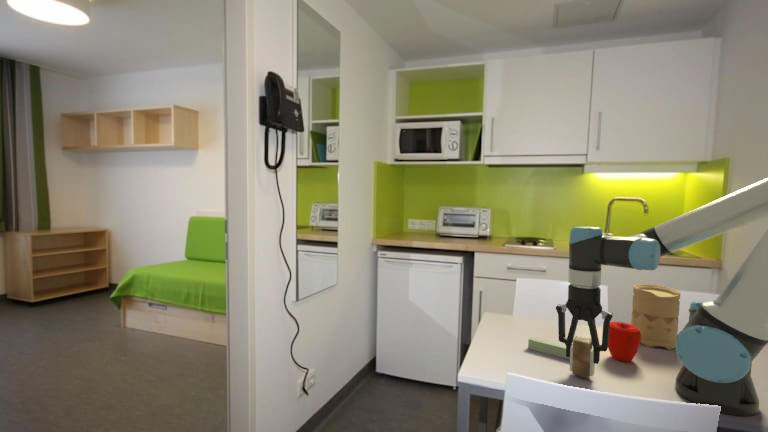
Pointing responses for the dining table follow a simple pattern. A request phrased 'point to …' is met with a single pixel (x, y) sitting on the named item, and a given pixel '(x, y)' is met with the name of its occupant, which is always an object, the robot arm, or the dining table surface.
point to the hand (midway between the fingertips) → (582, 371)
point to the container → (656, 314)
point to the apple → (623, 341)
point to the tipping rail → (547, 347)
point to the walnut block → (581, 356)
